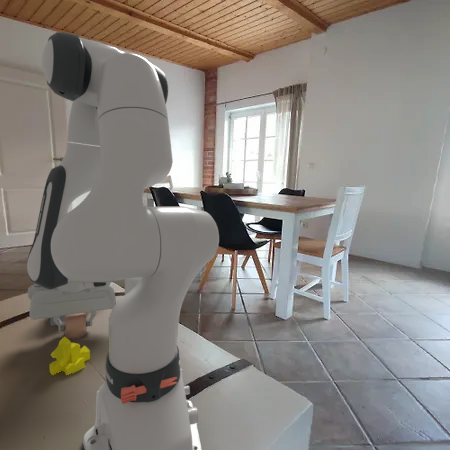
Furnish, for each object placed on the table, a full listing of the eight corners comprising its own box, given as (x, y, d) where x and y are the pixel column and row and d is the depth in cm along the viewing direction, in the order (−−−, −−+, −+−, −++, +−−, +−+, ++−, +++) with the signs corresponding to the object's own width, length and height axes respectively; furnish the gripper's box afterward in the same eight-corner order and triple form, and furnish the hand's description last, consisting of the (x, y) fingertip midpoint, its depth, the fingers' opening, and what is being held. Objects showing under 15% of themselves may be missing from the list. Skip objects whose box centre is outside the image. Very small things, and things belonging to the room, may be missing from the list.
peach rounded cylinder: (86, 336, 75) (86, 318, 75) (64, 340, 73) (64, 322, 72) (86, 326, 80) (86, 310, 79) (65, 330, 78) (65, 313, 77)
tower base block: (78, 322, 82) (78, 306, 82) (50, 326, 79) (49, 309, 78) (78, 311, 89) (78, 296, 88) (52, 315, 85) (52, 299, 85)
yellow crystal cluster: (94, 363, 65) (93, 332, 64) (56, 381, 59) (55, 347, 58) (83, 352, 69) (82, 323, 68) (46, 368, 63) (44, 336, 61)
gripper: (24, 288, 67) (27, 341, 69) (116, 279, 76) (116, 326, 78) (29, 279, 72) (31, 328, 74) (114, 271, 81) (114, 316, 84)
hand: (75, 327), depth 76 cm, fingers closed on peach rounded cylinder, 5 cm apart
